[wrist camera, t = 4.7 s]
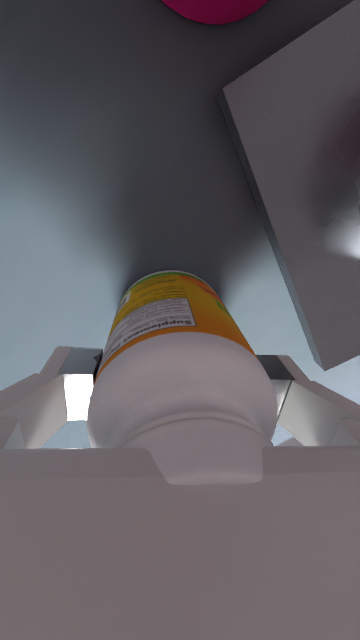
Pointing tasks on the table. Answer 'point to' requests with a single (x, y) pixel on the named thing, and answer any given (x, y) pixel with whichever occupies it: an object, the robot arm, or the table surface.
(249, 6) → the pepper mill
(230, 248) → the table surface
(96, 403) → the supplement bottle
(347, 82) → the collar
